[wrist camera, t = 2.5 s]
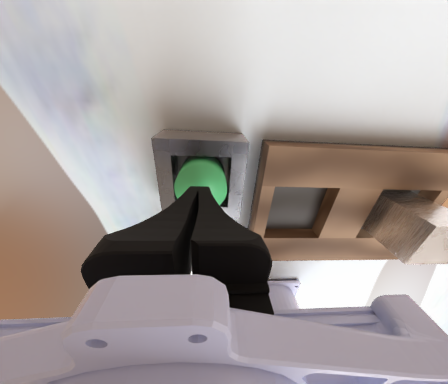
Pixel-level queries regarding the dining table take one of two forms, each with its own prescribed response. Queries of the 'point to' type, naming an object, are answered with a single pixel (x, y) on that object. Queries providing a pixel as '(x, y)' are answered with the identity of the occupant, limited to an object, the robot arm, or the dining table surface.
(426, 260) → the block
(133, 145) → the dining table surface
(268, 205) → the wooden socket board
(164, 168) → the button box
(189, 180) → the button
